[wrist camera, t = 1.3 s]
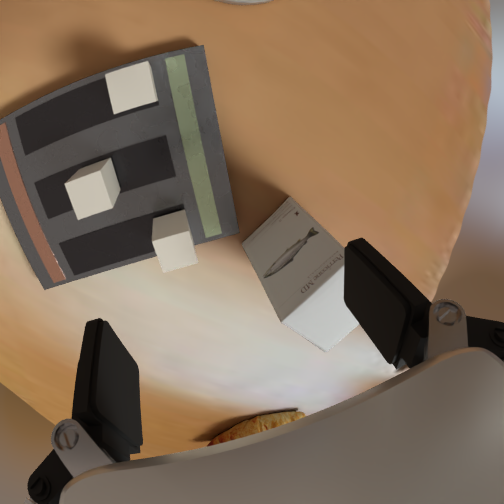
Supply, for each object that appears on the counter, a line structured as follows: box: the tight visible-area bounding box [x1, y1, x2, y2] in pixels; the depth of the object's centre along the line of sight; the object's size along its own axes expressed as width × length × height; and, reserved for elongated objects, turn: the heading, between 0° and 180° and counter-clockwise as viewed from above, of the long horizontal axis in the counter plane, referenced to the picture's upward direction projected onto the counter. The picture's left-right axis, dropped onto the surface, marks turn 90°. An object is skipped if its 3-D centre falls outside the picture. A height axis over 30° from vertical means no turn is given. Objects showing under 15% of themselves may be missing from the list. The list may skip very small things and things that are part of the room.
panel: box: [0, 45, 240, 290], centre depth 24 cm, size 18×22×2 cm
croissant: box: [207, 411, 306, 447], centre depth 51 cm, size 21×10×8 cm, turn 105°
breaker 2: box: [105, 61, 158, 114], centre depth 18 cm, size 3×3×4 cm
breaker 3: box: [152, 210, 198, 273], centre depth 25 cm, size 3×3×4 cm
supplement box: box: [242, 197, 359, 352], centre depth 28 cm, size 7×7×13 cm
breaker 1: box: [65, 158, 121, 220], centre depth 21 cm, size 3×3×4 cm
